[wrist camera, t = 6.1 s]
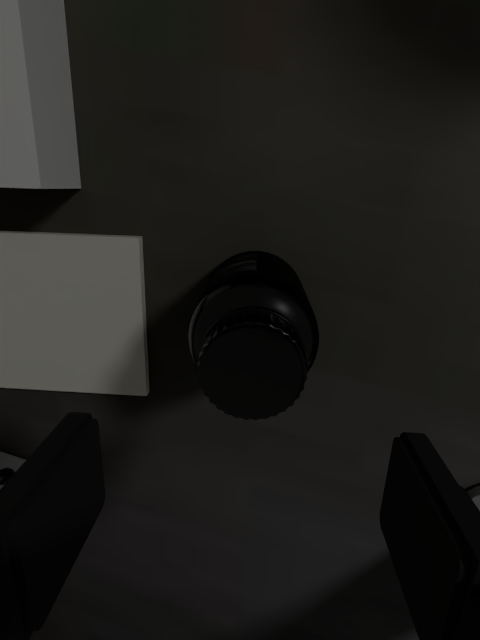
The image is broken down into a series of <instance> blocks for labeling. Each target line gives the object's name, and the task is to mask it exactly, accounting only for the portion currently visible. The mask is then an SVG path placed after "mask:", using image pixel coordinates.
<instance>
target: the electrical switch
mask: <svg viewBox="0 0 480 640" xmlns="http://www.w3.org/2000/svg"><path fill="white" fill-rule="evenodd" d="M25 461H26V460H25V459H22V458H19V457H16V456H13V455H10V454H7V453H4V452H1V451H0V489H1V488H2V487H3V486H4V485H5V484H6V481H8V480H9V479H10V478H11V477H12V476H13V474H14V473H15V472H16V471H17V470H18V469H19V468H20V466H21V465H22V464H23V463H24V462H25ZM5 480H6V481H5Z"/></svg>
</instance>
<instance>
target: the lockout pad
mask: <svg viewBox="0 0 480 640" xmlns="http://www.w3.org/2000/svg"><path fill="white" fill-rule="evenodd" d="M0 388H17V389H34V390H51V391H68V392H85V393H102V394H119V395H136V396H147V394H148V393H149V371H148V349H147V328H146V307H145V285H144V264H143V243H142V236H121V235H96V234H71V233H46V232H21V231H0Z"/></svg>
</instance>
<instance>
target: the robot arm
mask: <svg viewBox="0 0 480 640" xmlns="http://www.w3.org/2000/svg"><path fill="white" fill-rule="evenodd" d="M104 500H105V488H104V478H103V467H102V457H101V447H100V436H99V426H98V421H97V419H93V418H92V415H91V414H90V413H79V412H69V413H68V414H67V415H66V416H65V417H64V418H63V419H62V421H61V422H60V423H59V424H58V425H57V426H56V427H55V429H54V430H53V431H52V432H51V433H50V434H49V436H48V437H47V438H46V439H45V440H44V441H43V442H42V444H41V445H40V446H39V447H38V448H37V449H36V450H35V452H34V453H33V454H32V455H31V456H30V457H29V458H28V459H27V460H26V461H25V462H24V463H23V464H22V465H21V466H20V468H19V469H18V470H17V471H16V472H15V473H14V474H13V476H12V477H11V478H10V479H9V480H8V481H7V482H6V484H5V485H4V486H3V487H2V488H1V489H0V640H29V638H30V636H31V634H32V632H33V630H34V631H38V630H39V629H40V628H41V627H42V626H43V624H44V622H45V620H46V618H47V616H48V614H49V612H50V610H51V608H52V606H53V604H54V602H55V600H56V598H57V596H58V594H59V592H60V590H61V588H62V586H63V584H64V583H65V581H66V579H67V577H68V575H69V573H70V571H71V569H72V567H73V565H74V563H75V561H76V559H77V557H78V555H79V553H80V551H81V549H82V547H83V545H84V543H85V541H86V539H87V537H88V535H89V533H90V531H91V529H92V527H93V525H94V523H95V521H96V519H97V517H98V515H99V513H100V511H101V509H102V507H103V504H104ZM380 525H381V529H382V532H383V535H384V538H385V541H386V544H387V546H388V549H389V552H390V555H391V558H392V561H393V564H394V567H395V570H396V573H397V576H398V579H399V582H400V584H401V587H402V590H403V593H404V596H405V599H406V602H407V605H408V608H409V611H410V614H411V617H412V619H413V622H414V625H415V628H416V631H417V634H418V637H419V640H480V486H477V487H474V488H472V489H471V490H469V491H466V490H465V489H464V488H463V487H461V486H459V485H458V483H457V482H456V480H455V479H454V477H453V476H452V474H451V473H450V471H449V470H448V468H447V466H446V465H445V463H444V462H443V460H442V459H441V457H440V456H439V454H438V453H437V451H436V450H435V448H434V447H433V445H432V443H431V442H430V440H429V439H428V437H427V436H426V435H425V434H423V433H407V432H403V433H401V435H400V437H395V438H394V440H393V445H392V450H391V456H390V461H389V467H388V472H387V477H386V483H385V488H384V494H383V499H382V505H381V510H380Z"/></svg>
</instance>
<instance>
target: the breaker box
mask: <svg viewBox="0 0 480 640" xmlns="http://www.w3.org/2000/svg"><path fill="white" fill-rule="evenodd" d="M0 187H3V188H32V189H81V181H80V171H79V160H78V149H77V138H76V127H75V116H74V106H73V95H72V84H71V73H70V62H69V51H68V41H67V30H66V19H65V8H64V0H0Z"/></svg>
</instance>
